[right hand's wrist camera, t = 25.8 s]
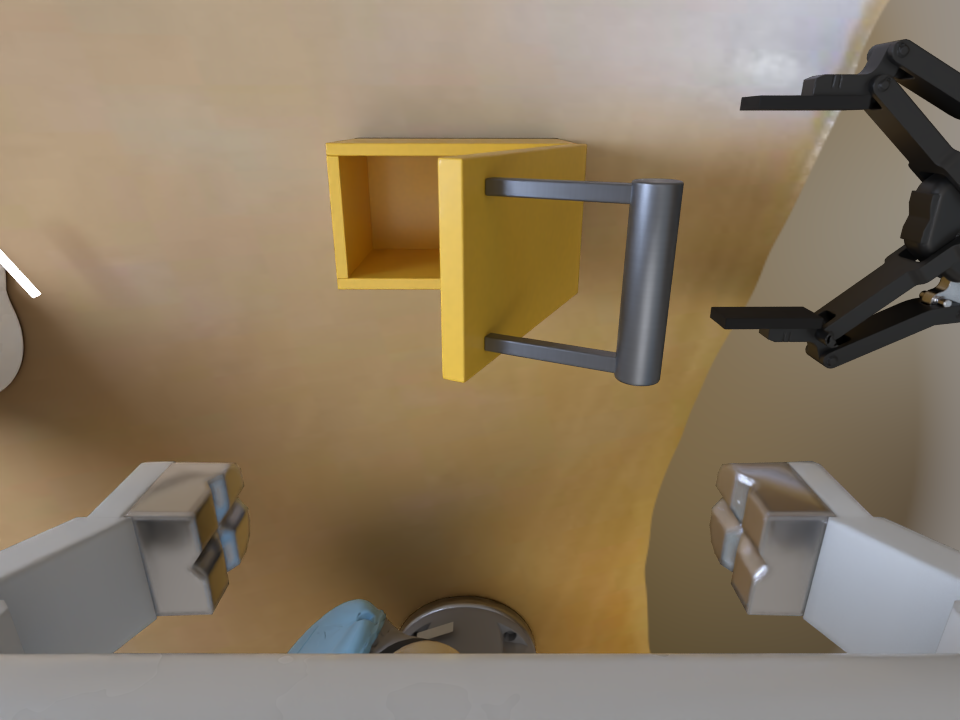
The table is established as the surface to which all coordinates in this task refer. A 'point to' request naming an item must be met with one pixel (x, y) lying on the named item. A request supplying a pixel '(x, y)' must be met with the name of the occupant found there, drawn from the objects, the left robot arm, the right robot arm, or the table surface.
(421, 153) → the chest
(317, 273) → the table surface
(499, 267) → the lid
